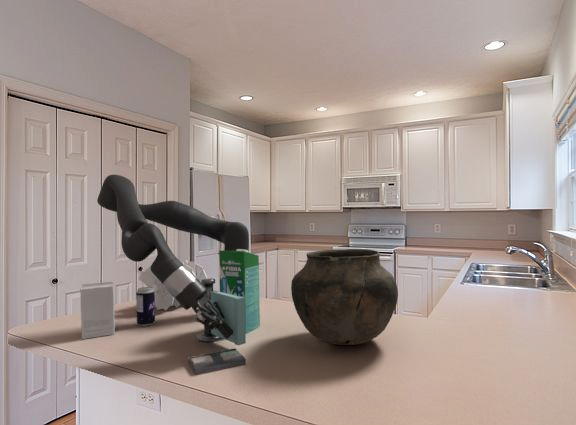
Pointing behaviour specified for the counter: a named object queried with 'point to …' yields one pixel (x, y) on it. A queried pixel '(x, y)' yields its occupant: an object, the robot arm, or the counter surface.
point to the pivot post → (206, 335)
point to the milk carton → (242, 282)
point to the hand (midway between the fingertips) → (230, 335)
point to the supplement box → (97, 310)
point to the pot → (344, 295)
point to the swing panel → (231, 315)
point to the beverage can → (145, 306)
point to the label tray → (216, 361)
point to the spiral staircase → (161, 293)
